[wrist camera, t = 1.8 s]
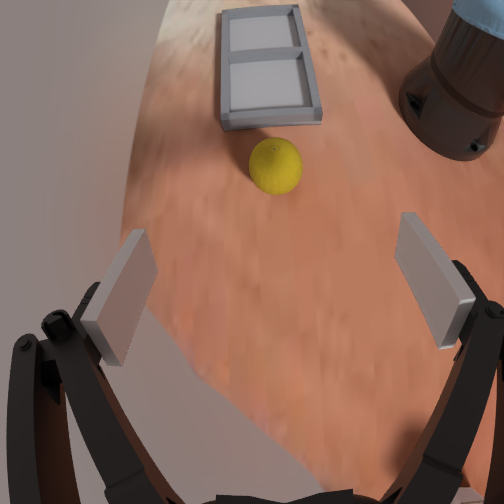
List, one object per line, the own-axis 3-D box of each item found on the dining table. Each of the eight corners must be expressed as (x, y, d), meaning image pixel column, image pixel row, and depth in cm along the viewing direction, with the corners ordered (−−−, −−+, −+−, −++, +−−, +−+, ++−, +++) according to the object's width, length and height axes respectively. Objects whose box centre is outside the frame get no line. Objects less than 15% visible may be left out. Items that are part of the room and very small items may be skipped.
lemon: (249, 164, 37) (241, 128, 29) (296, 157, 37) (298, 120, 29) (255, 207, 36) (248, 180, 28) (304, 200, 36) (310, 171, 28)
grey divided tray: (224, 20, 43) (222, 10, 40) (298, 15, 42) (298, 4, 39) (224, 131, 38) (220, 120, 36) (320, 124, 37) (322, 113, 35)
